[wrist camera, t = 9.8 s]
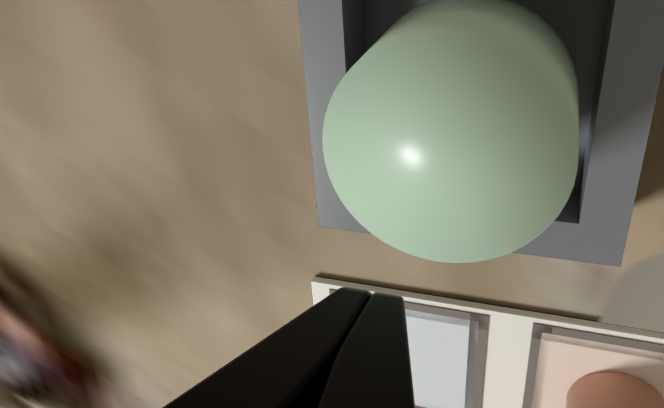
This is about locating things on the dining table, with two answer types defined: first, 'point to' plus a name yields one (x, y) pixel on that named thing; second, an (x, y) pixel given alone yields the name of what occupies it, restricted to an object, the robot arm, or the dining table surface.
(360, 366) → the robot arm
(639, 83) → the button housing
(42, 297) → the dining table surface
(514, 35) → the button
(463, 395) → the sorting tray
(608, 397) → the cylinder
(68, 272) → the dining table surface
